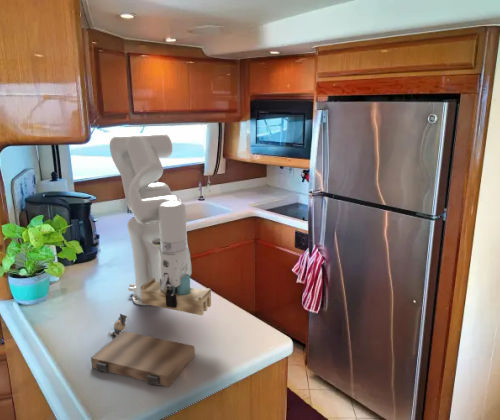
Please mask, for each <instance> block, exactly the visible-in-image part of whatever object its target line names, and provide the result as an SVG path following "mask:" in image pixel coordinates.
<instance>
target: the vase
mask: <svg viewBox="0 0 500 420" xmlns="http://www.w3.org/2000/svg"><path fill="white" fill-rule="evenodd" d="M127 318H128V315H125V314H122V313H120V314H119V317H118V318H117V320H115V322H114V324H113V332H110V331H108V333H107V334H108V335H109V334H110V336H114V335H115V337H117V336H118V335H119V334H120V333H122V332H123V331H125V327H126V321H127V320H126V319H127ZM129 321H130V320H129Z"/></svg>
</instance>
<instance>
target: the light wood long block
mask: <svg viewBox="0 0 500 420" xmlns="http://www.w3.org/2000/svg"><path fill="white" fill-rule="evenodd" d="M175 295H176V302H177V307H176V308H172V307H167V306H166V295H164V293H163V292H161V290H160V282H155V278H152V279H150V280H149V281H147V282H146V283H145V284H143V285H142V286H141V297H142V303H144V304H149V305H148V306H153V307H154V306H155V307H159V308H164V309H168V310H174V311H178V312H183V313H188V314H193V315H197V316H203V315H204V312H207V311H208V308H210V307H211V306H212V290H211V288H209V287H208V288H206V289H205V290H202V289H197V288H192V287H190V293H189V294H187V295H178V294H177V290H176V291H175Z"/></svg>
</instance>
